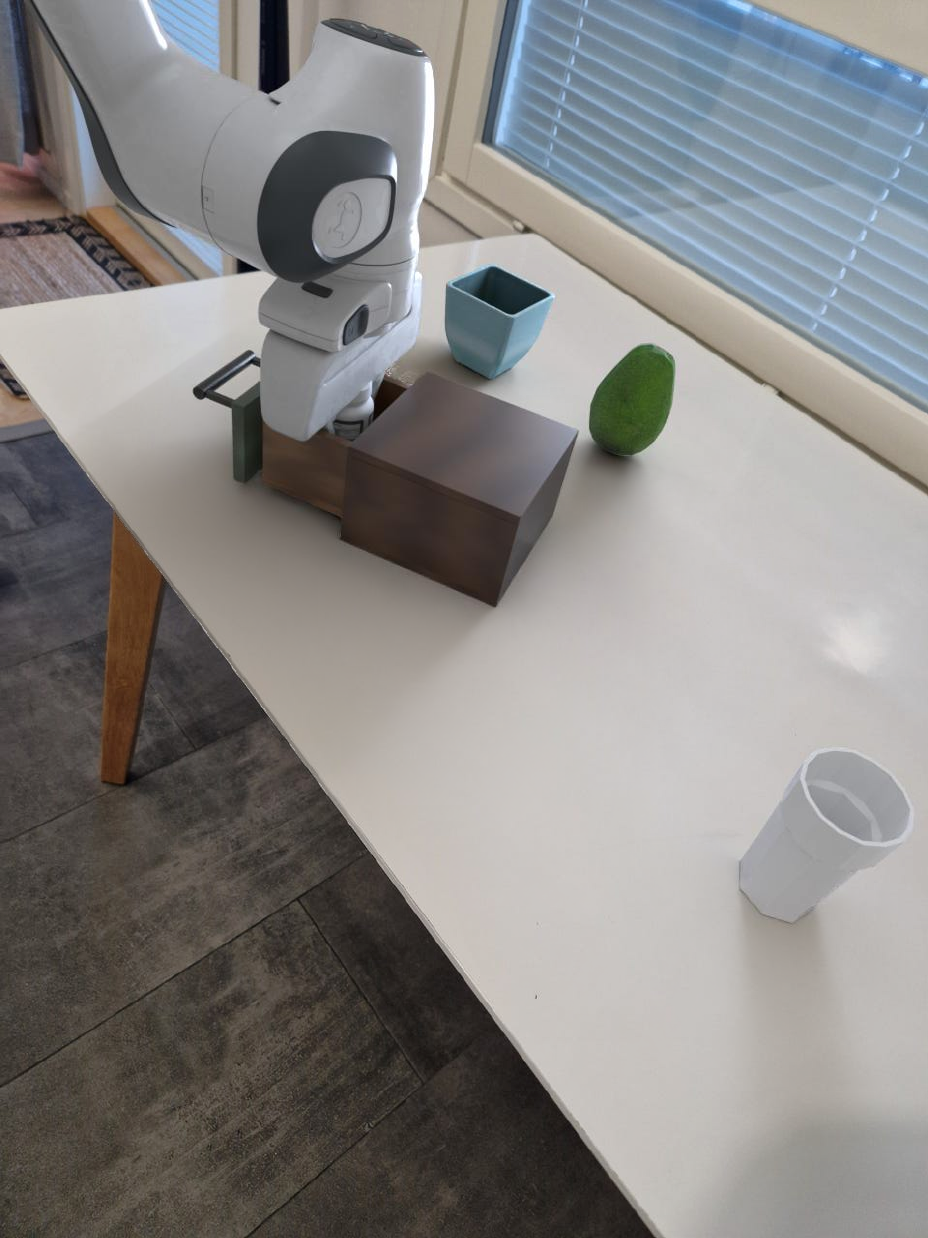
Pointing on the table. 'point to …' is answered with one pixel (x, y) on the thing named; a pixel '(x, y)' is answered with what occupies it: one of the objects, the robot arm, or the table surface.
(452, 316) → the flower pot
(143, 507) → the table surface
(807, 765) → the cup
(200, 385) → the drawer
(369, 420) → the pill bottle
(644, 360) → the avocado
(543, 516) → the cabinet
